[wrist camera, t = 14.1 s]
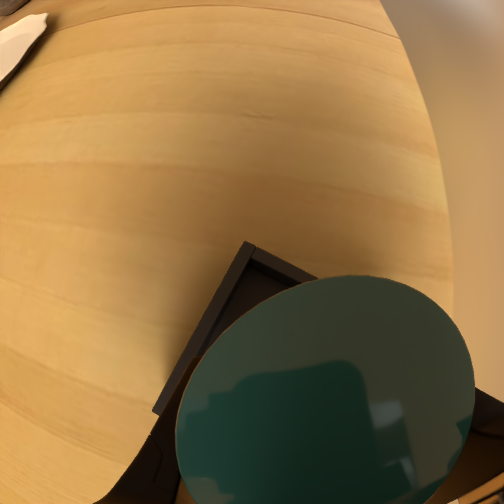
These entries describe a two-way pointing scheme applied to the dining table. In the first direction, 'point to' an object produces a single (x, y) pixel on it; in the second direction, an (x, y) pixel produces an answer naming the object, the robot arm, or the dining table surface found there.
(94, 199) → the dining table surface
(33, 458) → the dining table surface
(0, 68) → the plate
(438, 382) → the teal cylinder
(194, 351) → the dark square tray
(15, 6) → the bowl
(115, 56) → the dining table surface
